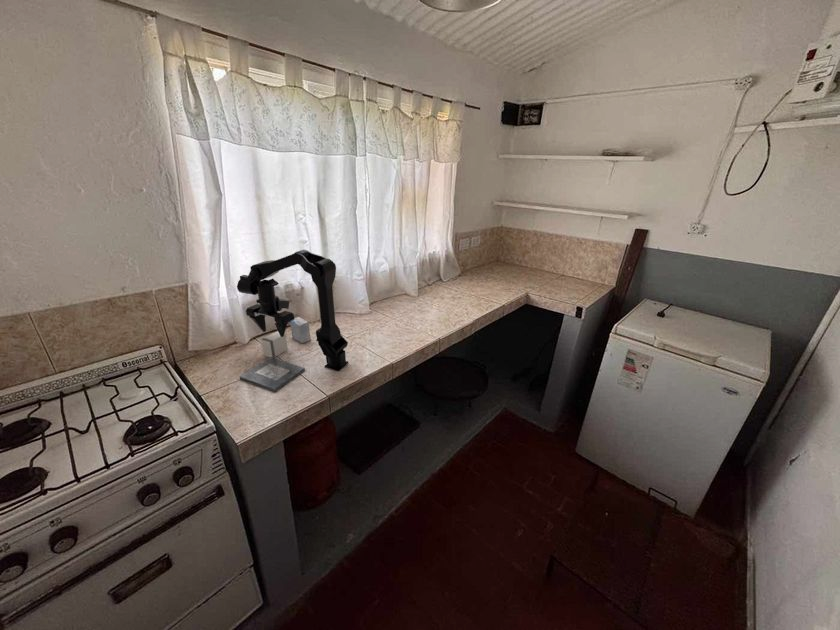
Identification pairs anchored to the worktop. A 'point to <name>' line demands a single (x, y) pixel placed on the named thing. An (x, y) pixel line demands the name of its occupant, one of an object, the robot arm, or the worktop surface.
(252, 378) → the duct plate
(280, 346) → the light grey block
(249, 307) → the robot arm
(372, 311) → the worktop surface
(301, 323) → the medicine box
